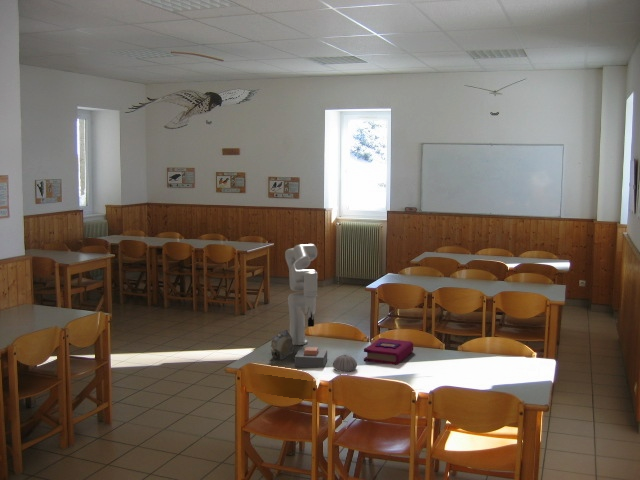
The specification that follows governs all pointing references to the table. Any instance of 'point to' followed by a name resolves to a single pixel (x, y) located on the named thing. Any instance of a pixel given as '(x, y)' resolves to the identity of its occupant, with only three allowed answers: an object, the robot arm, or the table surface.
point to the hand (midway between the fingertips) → (311, 326)
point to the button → (311, 351)
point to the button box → (311, 359)
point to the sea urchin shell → (345, 363)
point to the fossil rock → (282, 345)
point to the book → (388, 351)
